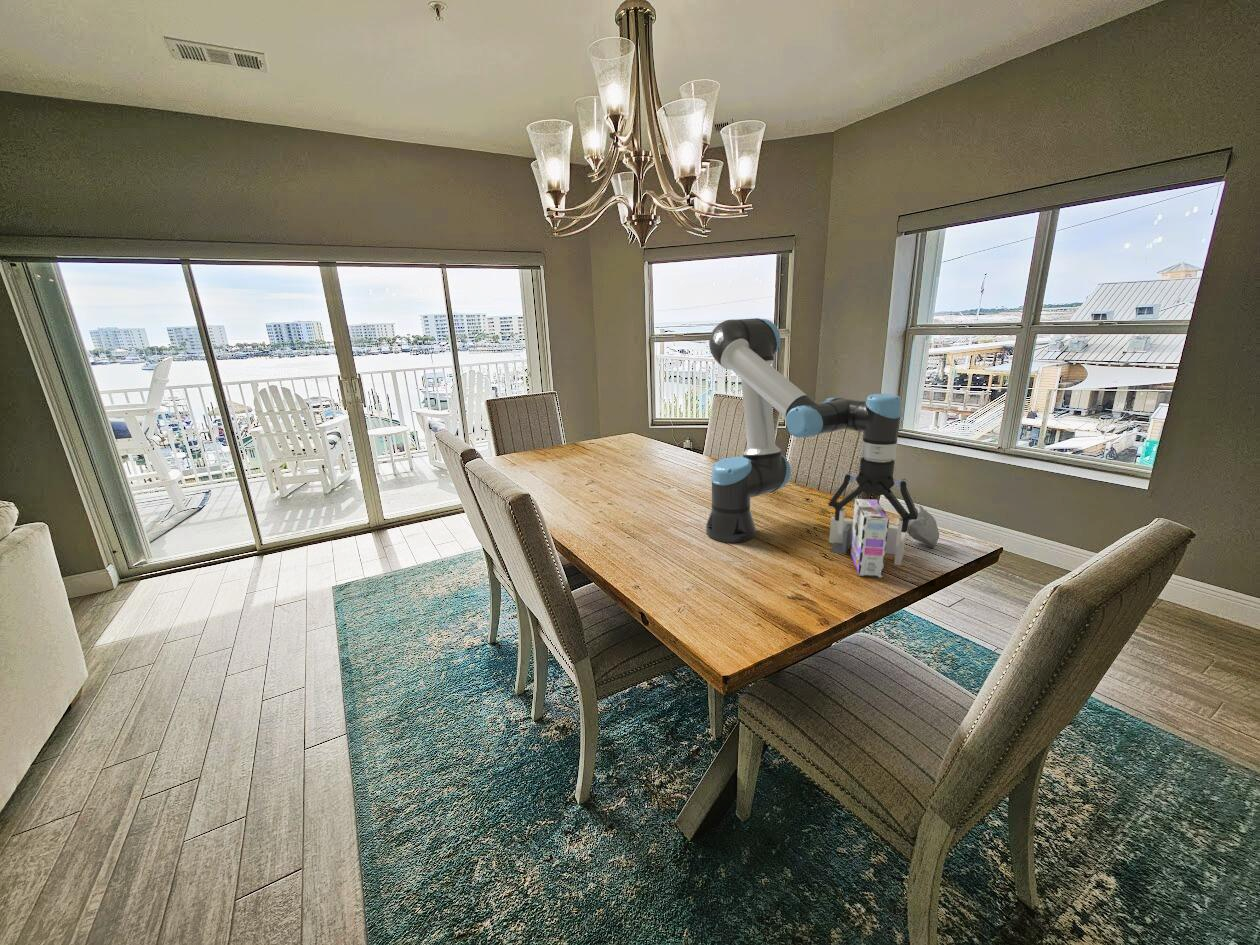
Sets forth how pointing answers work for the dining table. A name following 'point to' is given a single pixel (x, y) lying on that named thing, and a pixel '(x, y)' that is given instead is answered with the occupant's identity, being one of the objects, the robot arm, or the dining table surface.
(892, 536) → the shelf
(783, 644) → the dining table surface
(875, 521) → the candy box
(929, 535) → the heart
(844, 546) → the bookend
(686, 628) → the dining table surface
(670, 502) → the dining table surface
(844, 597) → the dining table surface
